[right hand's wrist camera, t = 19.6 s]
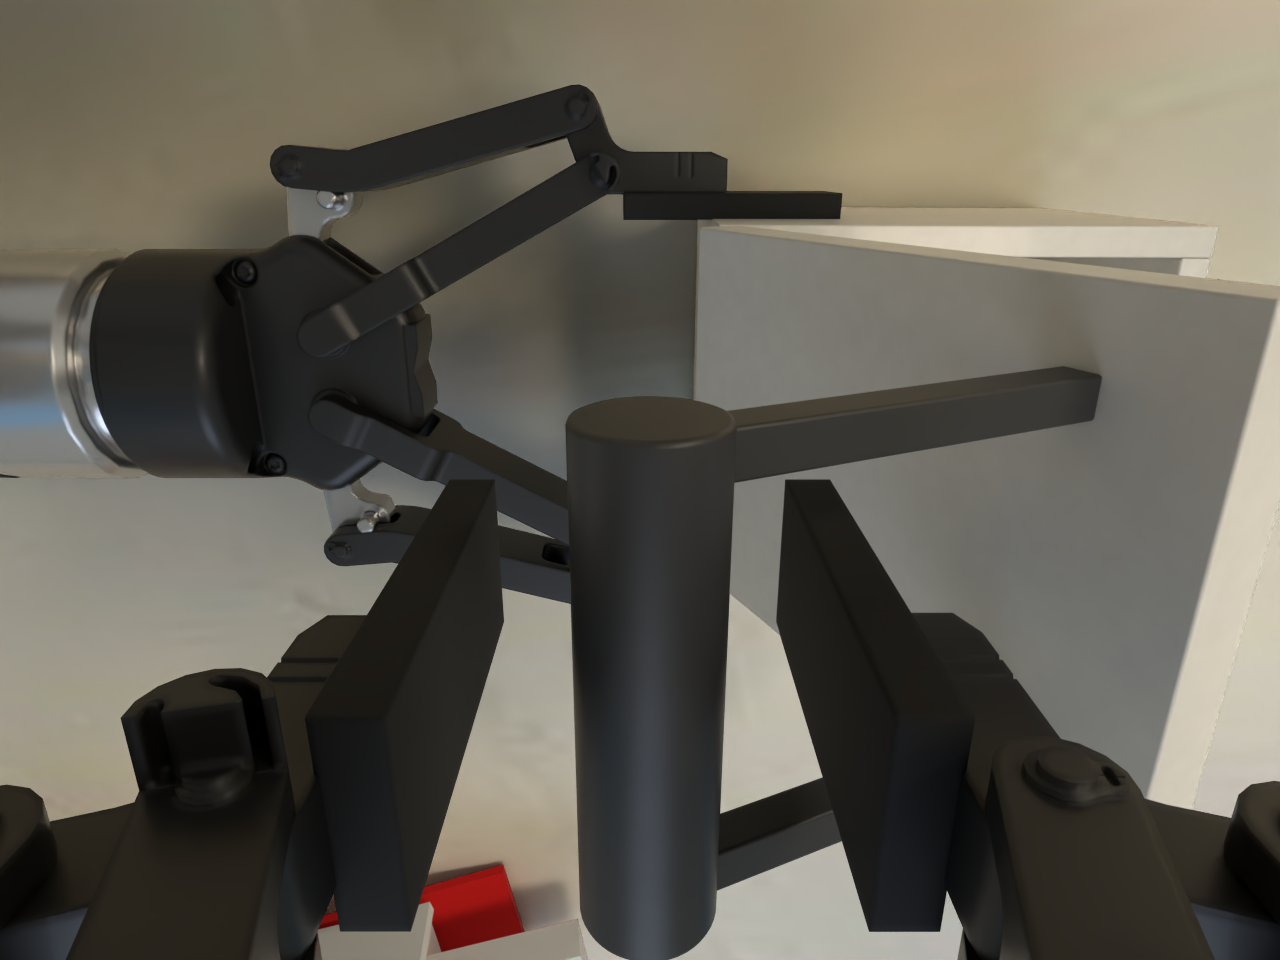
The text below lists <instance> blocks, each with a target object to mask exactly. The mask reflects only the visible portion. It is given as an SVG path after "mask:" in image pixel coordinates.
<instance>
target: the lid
mask: <svg viewBox="0 0 1280 960" xmlns="http://www.w3.org/2000/svg"><path fill="white" fill-rule="evenodd" d="M566 457H567V490H568V523H569V556H570V589H571V622H572V655H573V688H574V721H575V754H576V787H577V820H578V853H579V886H580V911H581V915H582V919H583V921H584V924H585V926H586V928H587V929H588V931H589V933H590V934H591V935H592V937H593V938H594V939H595V940H596V941H597V942H598V943H599V944H600V945H601V946H602V947H603V948H605V949H606V950H608V951H609V952H611V953H613V954H615V955H617V956H619V957H622V958H625V959H629V960H669V959H672V958H675V957H678V956H680V955H682V954H684V953H686V952H688V951H689V950H691V949H692V948H694V947H695V946H696V945H697V944H698V943H699V942H700V941H701V940H702V939H703V938H704V936H705V935H706V934H707V932H708V931H709V929H710V927H711V925H712V923H713V920H714V917H715V912H716V894H717V890H720V889H722V888H725V887H727V886H730V885H732V884H735V883H737V882H740V881H742V880H745V879H747V878H750V877H752V876H755V875H757V874H760V873H763V872H765V871H768V870H770V869H773V868H775V867H778V866H780V865H783V864H785V863H788V862H790V861H793V860H795V859H798V858H800V857H803V856H805V855H808V854H810V853H813V852H815V851H818V850H820V849H823V848H825V847H828V846H831V845H833V844H836V843H838V842H841V841H842V839H841V836H840V833H839V829H838V826H837V823H836V819H835V816H834V813H833V809H832V806H831V803H830V799H829V796H828V793H827V789H826V786H825V783H824V779H823V778H820V779H817V780H814V781H811V782H809V783H806V784H803V785H800V786H797V787H795V788H792V789H789V790H786V791H783V792H781V793H778V794H775V795H772V796H769V797H766V798H764V799H761V800H758V801H755V802H752V803H750V804H747V805H744V806H741V807H738V808H735V809H733V810H730V811H727V812H724V813H721V814H720V802H721V779H722V756H723V733H724V710H725V687H726V664H727V641H728V618H729V595H730V594H731V595H732V596H733V597H735V598H736V599H737V600H738V601H740V602H741V603H742V604H743V605H744V606H746V607H747V608H748V609H749V610H750V611H752V612H753V613H754V614H755V615H756V616H758V617H759V618H760V619H761V620H762V621H764V622H765V623H766V624H767V625H769V626H770V627H771V628H772V629H773V630H775V631H776V632H777V633H778V634H779V635H780V633H779V630H778V626H777V623H776V615H777V599H778V583H779V568H780V552H781V536H782V521H783V505H784V490H785V479H830V480H831V482H832V483H833V485H834V487H835V488H836V490H837V492H838V493H839V495H840V497H841V498H842V500H843V502H844V503H845V505H846V506H847V508H848V510H849V511H850V513H851V515H852V516H853V518H854V520H855V521H856V523H857V524H858V526H859V528H860V529H861V531H862V533H863V534H864V536H865V538H866V539H867V541H868V542H869V544H870V546H871V547H872V549H873V551H874V552H875V554H876V556H877V557H878V559H879V560H880V562H881V564H882V565H883V567H884V569H885V570H886V572H887V574H888V575H889V577H890V579H891V580H892V582H893V583H894V585H895V587H896V588H897V590H898V592H899V593H900V595H901V597H902V598H903V600H904V601H905V603H906V605H907V606H908V608H909V610H910V611H911V613H954V614H955V615H957V616H958V617H960V618H961V619H963V620H965V621H966V622H968V623H969V624H971V625H972V626H974V627H975V628H977V629H978V630H980V631H981V632H982V633H983V634H984V635H985V637H986V638H987V639H988V641H989V642H990V643H991V645H992V646H993V647H994V649H995V650H996V652H997V653H998V654H999V659H1000V660H1003V661H1004V662H1005V664H1006V665H1007V666H1008V668H1009V669H1010V671H1011V672H1012V673H1013V679H1017V680H1018V681H1019V683H1020V684H1021V685H1022V687H1023V688H1024V690H1025V691H1026V692H1027V694H1028V695H1029V696H1030V698H1031V699H1032V700H1033V702H1034V703H1035V704H1036V706H1037V707H1038V708H1039V710H1040V711H1041V713H1042V714H1043V715H1044V717H1045V718H1046V719H1047V721H1048V722H1049V723H1050V725H1051V726H1052V727H1053V729H1054V730H1055V732H1056V733H1057V734H1058V736H1059V737H1060V738H1061V739H1064V740H1068V741H1072V742H1076V743H1080V744H1082V745H1084V746H1086V747H1088V748H1090V749H1093V750H1095V751H1097V752H1099V753H1101V754H1103V755H1106V756H1107V757H1108V758H1110V759H1111V760H1112V761H1114V762H1115V763H1116V764H1118V765H1119V766H1120V767H1122V768H1123V769H1124V770H1126V771H1127V772H1128V773H1129V775H1130V776H1131V777H1132V779H1133V780H1134V781H1135V783H1136V784H1137V786H1138V787H1139V788H1140V790H1141V792H1142V794H1143V796H1144V798H1145V799H1149V800H1152V801H1156V802H1159V803H1163V804H1167V805H1171V806H1176V807H1181V808H1186V809H1190V810H1192V807H1193V803H1194V800H1195V797H1196V793H1197V790H1198V786H1199V783H1200V779H1201V776H1202V772H1203V769H1204V765H1205V762H1206V758H1207V755H1208V751H1209V748H1210V744H1211V741H1212V737H1213V734H1214V730H1215V727H1216V723H1217V720H1218V716H1219V713H1220V709H1221V706H1222V702H1223V699H1224V695H1225V692H1226V689H1227V685H1228V682H1229V678H1230V675H1231V671H1232V668H1233V664H1234V661H1235V657H1236V654H1237V650H1238V647H1239V643H1240V640H1241V636H1242V633H1243V629H1244V626H1245V622H1246V619H1247V615H1248V612H1249V608H1250V605H1251V601H1252V598H1253V594H1254V591H1255V587H1256V584H1257V580H1258V577H1259V574H1260V570H1261V567H1262V563H1263V560H1264V556H1265V553H1266V549H1267V546H1268V542H1269V539H1270V535H1271V532H1272V528H1273V525H1274V521H1275V518H1276V514H1277V511H1278V507H1279V504H1280V286H1271V285H1262V284H1254V283H1245V282H1236V281H1227V280H1218V279H1209V278H1200V277H1191V276H1182V275H1173V274H1164V273H1155V272H1146V271H1138V270H1129V269H1120V268H1111V267H1102V266H1093V265H1084V264H1075V263H1066V262H1057V261H1048V260H1039V259H1030V258H1022V257H1013V256H1004V255H995V254H986V253H977V252H968V251H959V250H950V249H941V248H932V247H923V246H914V245H906V244H897V243H888V242H879V241H870V240H861V239H852V238H843V237H834V236H825V235H816V234H807V233H799V232H790V231H781V230H772V229H763V228H754V227H745V226H724V227H701V228H700V235H699V275H698V314H697V354H696V393H695V400H690V399H684V398H675V397H657V396H643V397H626V398H617V399H610V400H604V401H600V402H596V403H593V404H589V405H586V406H584V407H581V408H579V409H577V410H575V411H574V412H572V413H571V414H570V415H569V417H568V419H567V422H566Z"/></svg>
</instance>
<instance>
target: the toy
mask: <svg viewBox="0 0 1280 960" xmlns="http://www.w3.org/2000/svg"><path fill="white" fill-rule="evenodd" d="M318 937H319V942H320V948H321V955H322V960H588V958H587V954H586V950H585V946H584V942H583V938H582V934H581V930H580V926H579V922H578V919H575V920H571V921H567V922H563V923H559V924H555V925H551V926H546V927H542V928H538V929H534V930H530V931H526V932H524V929H523V926H522V923H521V920H520V916H519V913H518V910H517V907H516V904H515V901H514V897H513V894H512V891H511V888H510V885H509V881H508V878H507V875H506V872H505V869H504V866H503V865H500V866H496V867H493V868H489V869H486V870H482V871H479V872H475V873H472V874H468V875H465V876H461V877H458V878H454V879H451V880H447V881H443V882H440V883H436V884H433V885H429V886H426V887H424V889H423V893H422V896H421V899H420V903H419V906H418V909H417V913H416V916H415V919H414V923H413V926H412V929H411V932H340V929H339V923H338V917H337V912H334V913H331V914H327V915H324V917H323V919H322V922H321V924H320V926H319V929H318Z"/></svg>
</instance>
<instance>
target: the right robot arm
mask: <svg viewBox="0 0 1280 960" xmlns="http://www.w3.org/2000/svg"><path fill="white" fill-rule="evenodd" d="M503 623H504V615H503V599H502V583H501V568H500V552H499V536H498V521H497V505H496V490H495V479H450V480H449V482H448V483H447V485H446V487H445V488H444V490H443V492H442V493H441V495H440V497H439V498H438V500H437V502H436V503H435V505H434V506H433V508H432V510H431V511H430V513H429V515H428V516H427V518H426V520H425V521H424V523H423V524H422V526H421V528H420V529H419V531H418V533H417V534H416V536H415V538H414V539H413V541H412V542H411V544H410V546H409V547H408V549H407V551H406V552H405V554H404V556H403V557H402V559H401V560H400V562H399V564H398V565H397V567H396V569H395V570H394V572H393V574H392V575H391V577H390V579H389V580H388V582H387V583H386V585H385V587H384V588H383V590H382V592H381V593H380V595H379V597H378V598H377V600H376V601H375V603H374V605H373V606H372V608H371V610H370V611H369V613H368V615H327V616H326V617H324V618H323V619H321V620H320V621H318V622H317V623H315V624H314V625H312V626H311V627H309V628H308V629H306V630H305V631H303V632H302V633H300V634H299V635H298V636H297V637H296V639H295V640H294V641H293V643H292V644H291V645H290V647H289V648H288V650H287V651H286V652H285V654H284V655H283V656H282V658H281V663H277V665H276V666H275V667H274V669H273V670H272V671H271V673H270V674H269V676H268V677H265V676H264V675H263V674H262V673H259V672H255V671H250V670H246V669H242V668H233V669H212V670H208V671H203V672H199V673H194V674H189V675H185V676H183V677H180V678H178V679H175V680H173V681H170V682H168V683H165V684H163V685H160V686H158V687H156V688H155V689H153V690H152V691H150V692H149V693H147V694H146V695H144V696H143V697H141V698H139V699H138V700H136V701H135V702H134V703H133V704H132V706H131V707H130V708H129V709H128V710H127V711H126V712H125V714H124V715H123V716H122V717H121V721H122V725H123V729H124V733H125V737H126V741H127V744H128V748H129V752H130V756H131V760H132V764H133V768H134V772H135V776H136V780H137V784H138V787H139V793H138V795H137V798H136V800H135V802H134V803H130V804H127V805H123V806H120V807H116V808H112V809H107V810H102V811H98V812H93V813H88V814H84V815H79V816H74V817H70V818H65V819H60V820H56V821H51V822H50V821H49V818H48V815H47V811H46V808H45V805H44V802H43V799H42V798H41V797H40V796H39V795H37V794H36V793H35V792H34V791H33V790H31V789H30V788H25V787H18V786H12V785H1V786H0V960H322V955H321V948H320V942H319V937H318V929H319V926H320V924H321V922H322V919H323V917H324V914H325V912H326V910H327V907H328V905H329V903H330V900H331V898H332V896H333V893H334V898H335V904H336V911H337V917H338V923H339V929H340V932H411V929H412V926H413V923H414V919H415V916H416V913H417V909H418V906H419V903H420V899H421V896H422V893H423V889H424V886H425V883H426V879H427V876H428V873H429V869H430V866H431V863H432V859H433V856H434V853H435V849H436V846H437V843H438V839H439V836H440V833H441V829H442V826H443V823H444V819H445V816H446V813H447V809H448V806H449V803H450V799H451V796H452V793H453V789H454V786H455V783H456V779H457V776H458V773H459V769H460V766H461V763H462V759H463V756H464V753H465V749H466V746H467V743H468V739H469V736H470V733H471V729H472V726H473V723H474V719H475V716H476V713H477V709H478V706H479V703H480V699H481V696H482V693H483V689H484V686H485V683H486V679H487V676H488V673H489V669H490V666H491V663H492V660H493V656H494V653H495V650H496V646H497V643H498V640H499V636H500V633H501V630H502V626H503ZM776 623H777V626H778V630H779V633H780V636H781V640H782V643H783V646H784V650H785V653H786V656H787V660H788V663H789V666H790V670H791V673H792V676H793V679H794V683H795V686H796V689H797V693H798V696H799V699H800V703H801V706H802V709H803V713H804V716H805V719H806V723H807V726H808V729H809V733H810V736H811V739H812V743H813V746H814V749H815V753H816V756H817V759H818V763H819V766H820V769H821V773H822V776H823V779H824V783H825V786H826V789H827V793H828V796H829V799H830V803H831V806H832V809H833V813H834V816H835V819H836V823H837V826H838V829H839V833H840V836H841V839H842V843H843V846H844V849H845V853H846V856H847V859H848V863H849V866H850V869H851V873H852V876H853V879H854V883H855V886H856V889H857V893H858V896H859V899H860V903H861V906H862V909H863V913H864V916H865V919H866V923H867V926H868V929H869V932H940V929H941V923H942V917H943V911H944V904H945V898H946V892H947V891H948V894H949V896H950V898H951V901H952V903H953V905H954V908H955V910H956V912H957V915H958V917H959V920H960V922H961V924H962V927H963V931H962V937H961V942H960V948H959V954H958V959H957V960H1280V782H1278V781H1271V782H1265V783H1258V784H1251V785H1250V786H1249V787H1248V788H1246V789H1245V790H1244V791H1243V792H1241V793H1240V794H1239V795H1238V798H1237V802H1236V805H1235V808H1234V811H1233V815H1232V818H1228V817H1223V816H1219V815H1214V814H1209V813H1204V812H1200V811H1195V810H1190V809H1186V808H1181V807H1176V806H1171V805H1167V804H1163V803H1159V802H1156V801H1152V800H1149V799H1145V798H1144V796H1143V794H1142V792H1141V790H1140V788H1139V787H1138V786H1137V784H1136V783H1135V781H1134V780H1133V779H1132V777H1131V776H1130V775H1129V773H1128V772H1127V771H1126V770H1124V769H1123V768H1122V767H1120V766H1119V765H1118V764H1116V763H1115V762H1114V761H1112V760H1111V759H1110V758H1108V757H1107V756H1106V755H1103V754H1101V753H1099V752H1097V751H1095V750H1093V749H1090V748H1088V747H1086V746H1084V745H1082V744H1080V743H1076V742H1072V741H1068V740H1064V739H1061V738H1060V737H1059V736H1058V734H1057V733H1056V732H1055V730H1054V729H1053V727H1052V726H1051V725H1050V723H1049V722H1048V721H1047V719H1046V718H1045V717H1044V715H1043V714H1042V713H1041V711H1040V710H1039V708H1038V707H1037V706H1036V704H1035V703H1034V702H1033V700H1032V699H1031V698H1030V696H1029V695H1028V694H1027V692H1026V691H1025V690H1024V688H1023V687H1022V685H1021V684H1020V683H1019V681H1018V680H1017V679H1013V673H1012V672H1011V671H1010V669H1009V668H1008V666H1007V665H1006V664H1005V662H1004V661H1003V660H1000V659H999V654H998V653H997V652H996V650H995V649H994V647H993V646H992V645H991V643H990V642H989V641H988V639H987V638H986V637H985V635H984V634H983V633H982V632H981V631H980V630H978V629H977V628H975V627H974V626H972V625H971V624H969V623H968V622H966V621H965V620H963V619H961V618H960V617H958V616H957V615H955V614H954V613H911V611H910V610H909V608H908V606H907V605H906V603H905V601H904V600H903V598H902V597H901V595H900V593H899V592H898V590H897V588H896V587H895V585H894V583H893V582H892V580H891V579H890V577H889V575H888V574H887V572H886V570H885V569H884V567H883V565H882V564H881V562H880V560H879V559H878V557H877V556H876V554H875V552H874V551H873V549H872V547H871V546H870V544H869V542H868V541H867V539H866V538H865V536H864V534H863V533H862V531H861V529H860V528H859V526H858V524H857V523H856V521H855V520H854V518H853V516H852V515H851V513H850V511H849V510H848V508H847V506H846V505H845V503H844V502H843V500H842V498H841V497H840V495H839V493H838V492H837V490H836V488H835V487H834V485H833V483H832V482H831V480H830V479H785V490H784V505H783V521H782V536H781V552H780V568H779V583H778V599H777V615H776Z"/></svg>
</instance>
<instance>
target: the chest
mask: <svg viewBox="0 0 1280 960" xmlns="http://www.w3.org/2000/svg"><path fill="white" fill-rule="evenodd" d="M724 226H745V227H754V228H763V229H772V230H781V231H790V232H799V233H807V234H816V235H825V236H834V237H843V238H852V239H861V240H870V241H879V242H888V243H897V244H906V245H914V246H923V247H932V248H941V249H950V250H959V251H968V252H977V253H986V254H995V255H1004V256H1013V257H1022V258H1030V259H1039V260H1048V261H1057V262H1066V263H1075V264H1084V265H1093V266H1102V267H1111V268H1120V269H1129V270H1138V271H1146V272H1155V273H1164V274H1173V275H1182V276H1191V277H1200V278H1206V277H1207V273H1208V268H1209V264H1210V259H1209V258H1210V257H1212V254H1213V249H1214V245H1215V241H1216V236H1217V232H1218V226H1212V225H1202V224H1193V223H1183V222H1173V221H1164V220H1154V219H1144V218H1135V217H1125V216H1115V215H1105V214H1096V213H1086V212H1076V211H1067V210H1057V209H1047V208H871V207H841V216H840V219H712V220H698V228H697V269H696V310H695V351H694V392H693V400H695V393H696V354H697V314H698V275H699V235H700V228H701V227H724Z"/></svg>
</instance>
